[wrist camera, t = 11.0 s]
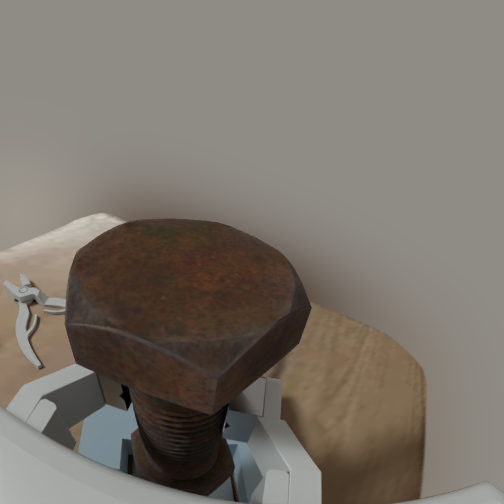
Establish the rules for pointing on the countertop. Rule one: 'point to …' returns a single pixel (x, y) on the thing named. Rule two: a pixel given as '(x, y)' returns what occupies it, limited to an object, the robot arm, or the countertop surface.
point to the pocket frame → (119, 447)
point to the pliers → (25, 298)
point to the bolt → (182, 334)
